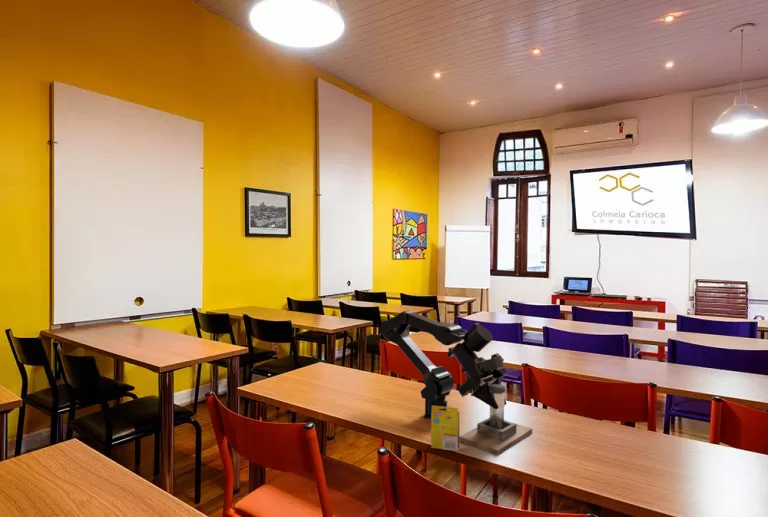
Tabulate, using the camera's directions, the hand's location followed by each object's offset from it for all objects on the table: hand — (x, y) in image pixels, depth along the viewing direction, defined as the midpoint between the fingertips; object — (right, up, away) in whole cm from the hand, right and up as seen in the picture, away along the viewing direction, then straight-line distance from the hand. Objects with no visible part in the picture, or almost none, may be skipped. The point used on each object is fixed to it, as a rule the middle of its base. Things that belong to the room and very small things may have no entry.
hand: (501, 406), depth 126 cm
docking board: (-1, -9, +1) cm, 9 cm away
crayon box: (-17, -9, -6) cm, 20 cm away
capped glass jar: (-1, -7, +1) cm, 7 cm away
